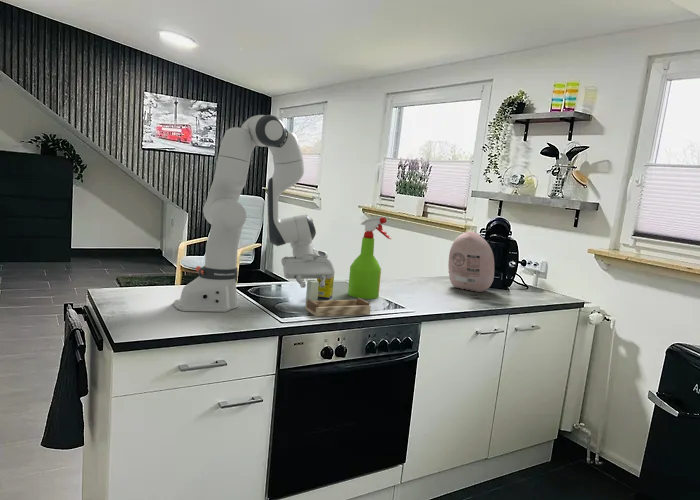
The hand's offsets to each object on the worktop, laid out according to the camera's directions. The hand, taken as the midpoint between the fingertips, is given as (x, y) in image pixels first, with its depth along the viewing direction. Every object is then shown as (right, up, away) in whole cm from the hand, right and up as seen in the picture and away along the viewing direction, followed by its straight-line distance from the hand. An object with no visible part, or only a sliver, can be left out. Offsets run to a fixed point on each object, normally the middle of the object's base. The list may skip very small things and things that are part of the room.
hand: (313, 286), depth 198 cm
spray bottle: (+22, -6, +29) cm, 37 cm away
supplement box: (+3, -6, +19) cm, 21 cm away
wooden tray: (+9, -9, -3) cm, 13 cm away
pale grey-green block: (-1, -8, +2) cm, 8 cm away
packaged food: (+74, -7, +65) cm, 99 cm away
